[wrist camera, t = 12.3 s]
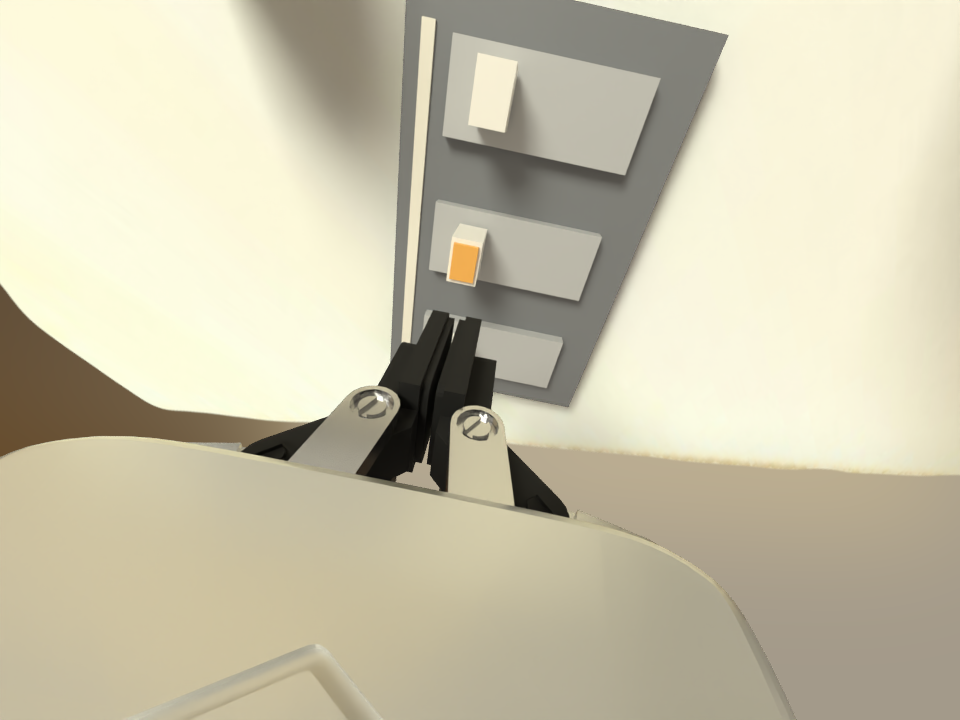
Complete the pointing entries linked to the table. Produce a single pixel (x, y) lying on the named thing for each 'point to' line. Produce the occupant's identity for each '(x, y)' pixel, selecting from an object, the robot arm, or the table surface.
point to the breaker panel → (537, 172)
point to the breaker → (493, 92)
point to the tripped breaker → (466, 254)
